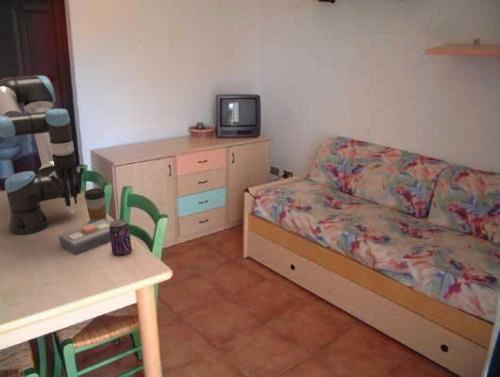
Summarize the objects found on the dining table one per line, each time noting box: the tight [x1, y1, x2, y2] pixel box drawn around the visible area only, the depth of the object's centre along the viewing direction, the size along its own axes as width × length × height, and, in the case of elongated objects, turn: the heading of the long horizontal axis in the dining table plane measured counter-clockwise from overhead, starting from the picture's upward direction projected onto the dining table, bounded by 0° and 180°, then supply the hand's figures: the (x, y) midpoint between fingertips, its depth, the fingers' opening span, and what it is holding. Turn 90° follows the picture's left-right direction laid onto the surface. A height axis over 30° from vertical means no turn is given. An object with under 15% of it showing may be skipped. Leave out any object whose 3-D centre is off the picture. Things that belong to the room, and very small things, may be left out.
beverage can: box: [109, 218, 132, 256], centre depth 164 cm, size 7×7×12 cm
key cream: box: [68, 232, 84, 240], centre depth 170 cm, size 4×4×3 cm
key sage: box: [96, 223, 110, 230], centre depth 178 cm, size 4×4×3 cm
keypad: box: [58, 219, 111, 256], centre depth 174 cm, size 12×19×5 cm, turn 138°
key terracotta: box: [80, 223, 98, 235], centre depth 173 cm, size 4×4×3 cm
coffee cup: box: [84, 187, 107, 224], centre depth 188 cm, size 8×8×15 cm
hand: (72, 212), depth 168 cm, fingers closed
